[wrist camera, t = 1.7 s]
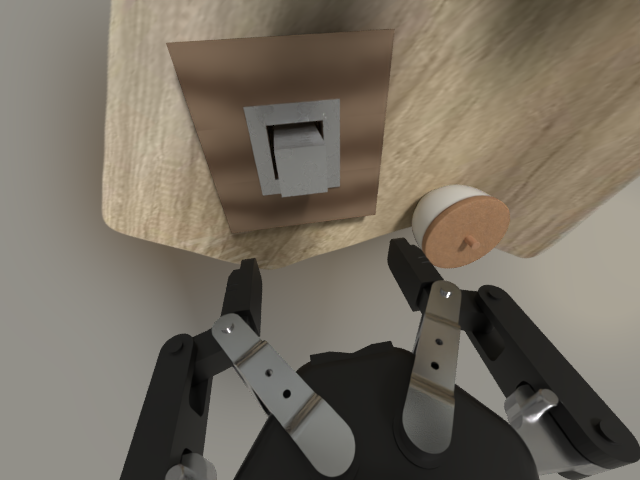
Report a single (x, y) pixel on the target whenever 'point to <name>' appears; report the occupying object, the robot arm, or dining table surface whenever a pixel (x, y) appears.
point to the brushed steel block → (300, 159)
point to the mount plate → (289, 118)
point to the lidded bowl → (458, 225)
